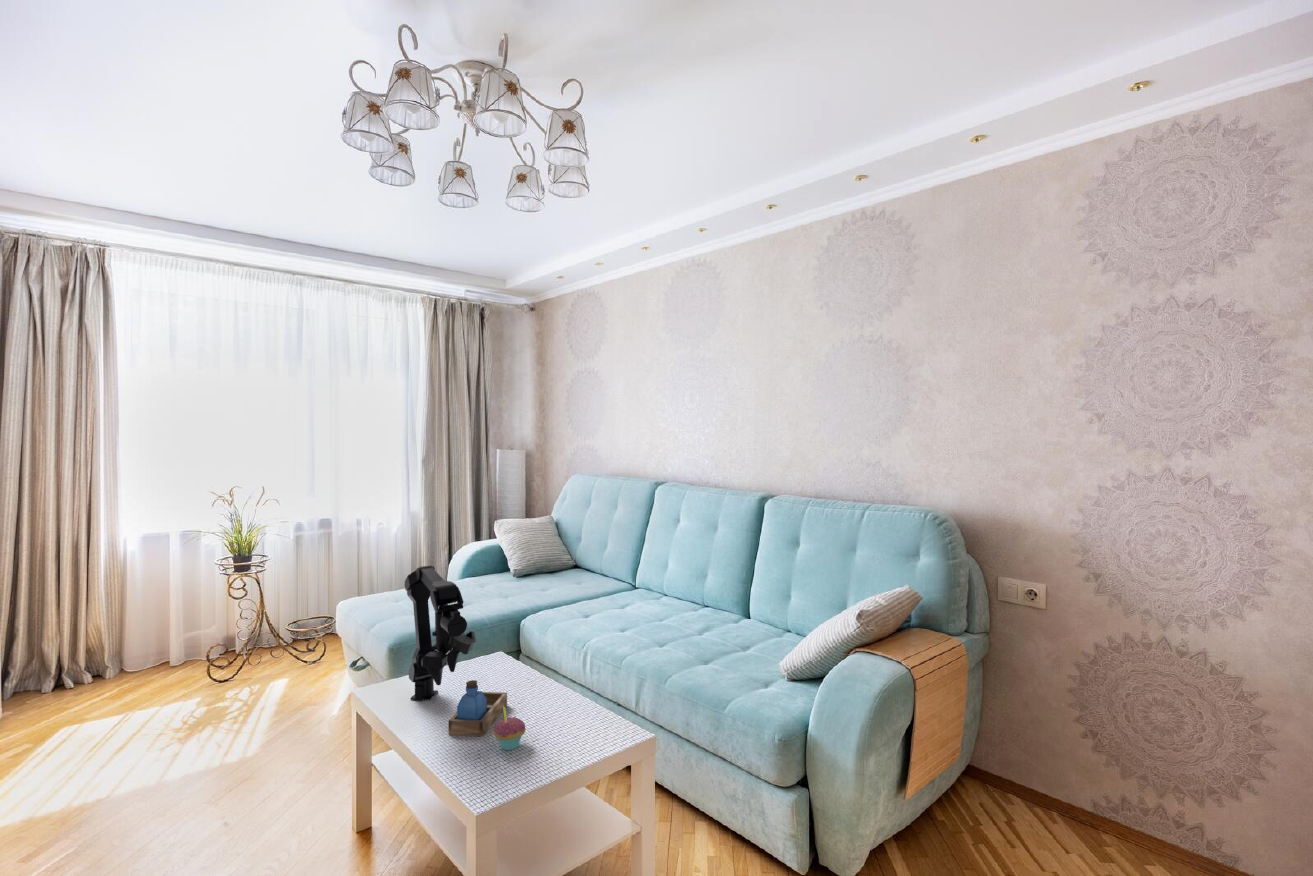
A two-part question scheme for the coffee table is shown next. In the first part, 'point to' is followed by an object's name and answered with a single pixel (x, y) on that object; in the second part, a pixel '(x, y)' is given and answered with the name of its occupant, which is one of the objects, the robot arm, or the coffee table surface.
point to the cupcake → (509, 731)
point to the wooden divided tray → (481, 726)
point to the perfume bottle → (472, 703)
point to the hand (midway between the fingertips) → (445, 678)
